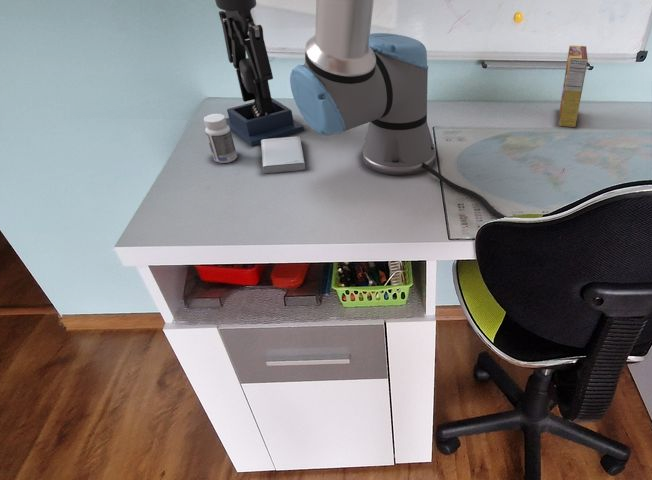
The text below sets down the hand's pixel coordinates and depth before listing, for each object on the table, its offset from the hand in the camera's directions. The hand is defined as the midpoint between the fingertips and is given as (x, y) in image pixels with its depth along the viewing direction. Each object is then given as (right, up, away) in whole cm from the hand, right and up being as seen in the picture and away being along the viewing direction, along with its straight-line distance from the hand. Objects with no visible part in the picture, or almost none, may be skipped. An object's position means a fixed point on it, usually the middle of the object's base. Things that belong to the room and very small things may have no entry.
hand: (258, 105), depth 119 cm
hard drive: (+7, -14, -6) cm, 17 cm away
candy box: (+71, +2, +13) cm, 72 cm away
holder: (0, -3, +3) cm, 5 cm away
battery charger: (0, -2, +2) cm, 3 cm away
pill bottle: (-4, -14, -7) cm, 17 cm away
